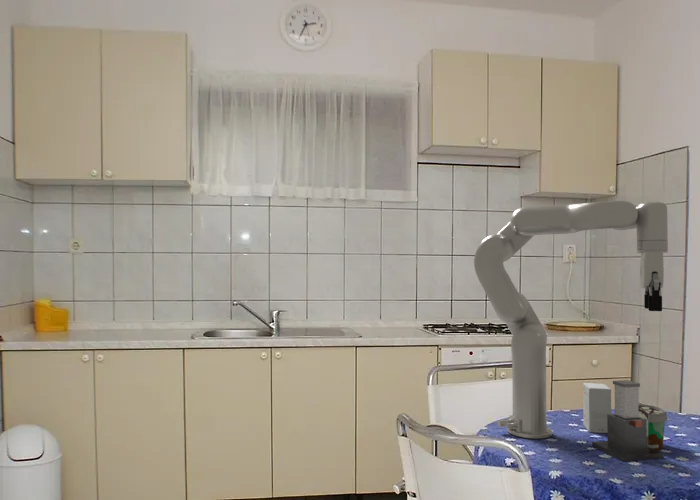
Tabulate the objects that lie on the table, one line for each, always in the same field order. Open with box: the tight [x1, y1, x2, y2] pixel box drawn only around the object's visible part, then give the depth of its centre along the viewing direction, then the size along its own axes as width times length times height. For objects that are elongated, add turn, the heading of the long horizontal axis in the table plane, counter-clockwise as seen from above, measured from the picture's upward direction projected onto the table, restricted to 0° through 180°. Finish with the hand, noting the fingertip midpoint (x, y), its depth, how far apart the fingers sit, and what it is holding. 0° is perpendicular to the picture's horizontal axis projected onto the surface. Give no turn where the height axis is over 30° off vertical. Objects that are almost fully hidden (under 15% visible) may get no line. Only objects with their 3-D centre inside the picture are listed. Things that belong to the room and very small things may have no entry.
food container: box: [638, 403, 669, 451], centre depth 153 cm, size 12×6×10 cm, turn 168°
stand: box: [591, 413, 665, 462], centre depth 148 cm, size 12×12×9 cm
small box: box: [582, 382, 612, 434], centre depth 169 cm, size 8×6×13 cm
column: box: [612, 379, 641, 420], centre depth 149 cm, size 5×5×17 cm
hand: (653, 309), depth 154 cm, fingers open, 9 cm apart
